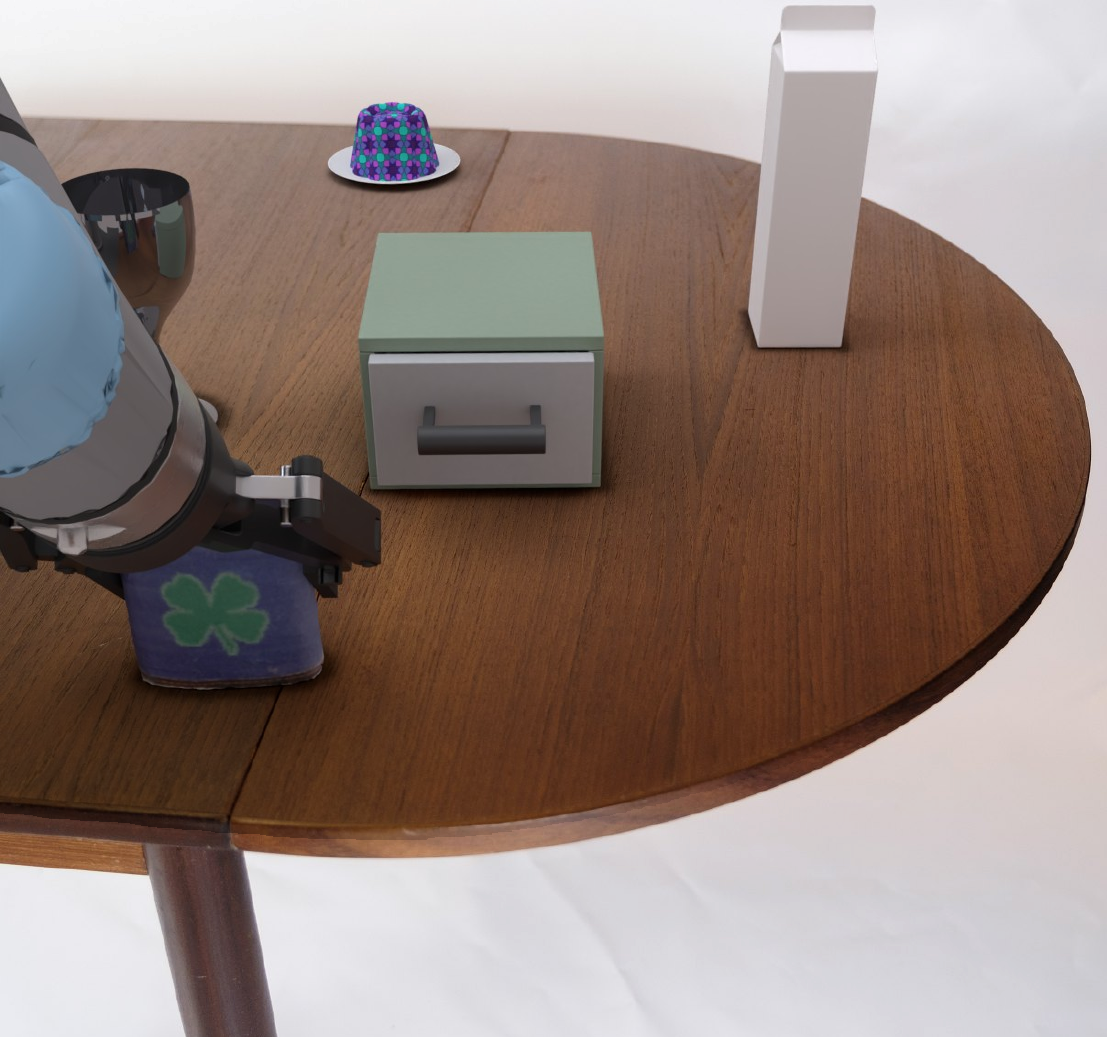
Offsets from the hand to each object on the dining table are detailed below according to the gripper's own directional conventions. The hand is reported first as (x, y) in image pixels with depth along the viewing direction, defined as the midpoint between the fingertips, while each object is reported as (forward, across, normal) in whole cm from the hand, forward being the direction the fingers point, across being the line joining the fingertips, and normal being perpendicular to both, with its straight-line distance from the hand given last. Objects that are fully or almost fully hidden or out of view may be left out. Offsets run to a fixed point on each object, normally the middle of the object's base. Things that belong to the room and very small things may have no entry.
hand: (231, 572), depth 72 cm
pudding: (+53, +4, +48) cm, 72 cm away
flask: (+1, 0, -5) cm, 5 cm away
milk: (+29, +34, +23) cm, 50 cm away
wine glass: (+19, -8, +14) cm, 25 cm away
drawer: (+15, +12, +11) cm, 22 cm away
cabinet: (+19, +12, +13) cm, 26 cm away
